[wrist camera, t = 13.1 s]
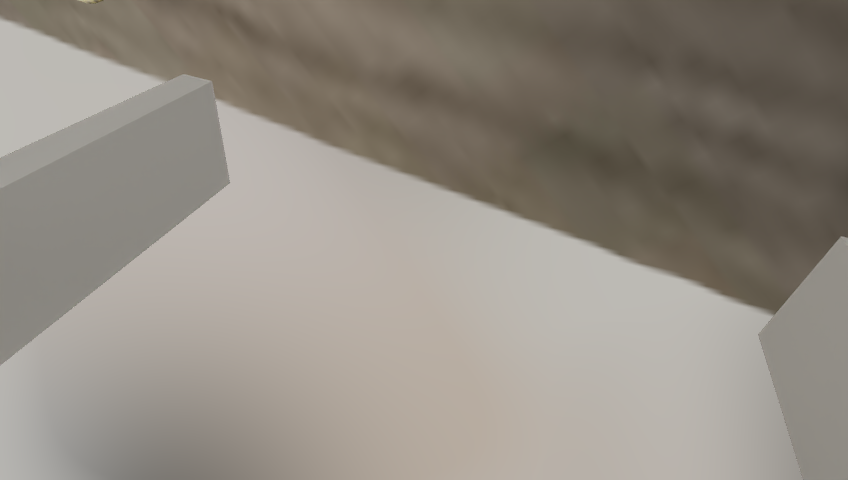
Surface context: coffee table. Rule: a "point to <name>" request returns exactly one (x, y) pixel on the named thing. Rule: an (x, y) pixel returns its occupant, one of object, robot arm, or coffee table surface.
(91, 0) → the ceramic bowl
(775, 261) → the coffee table surface
